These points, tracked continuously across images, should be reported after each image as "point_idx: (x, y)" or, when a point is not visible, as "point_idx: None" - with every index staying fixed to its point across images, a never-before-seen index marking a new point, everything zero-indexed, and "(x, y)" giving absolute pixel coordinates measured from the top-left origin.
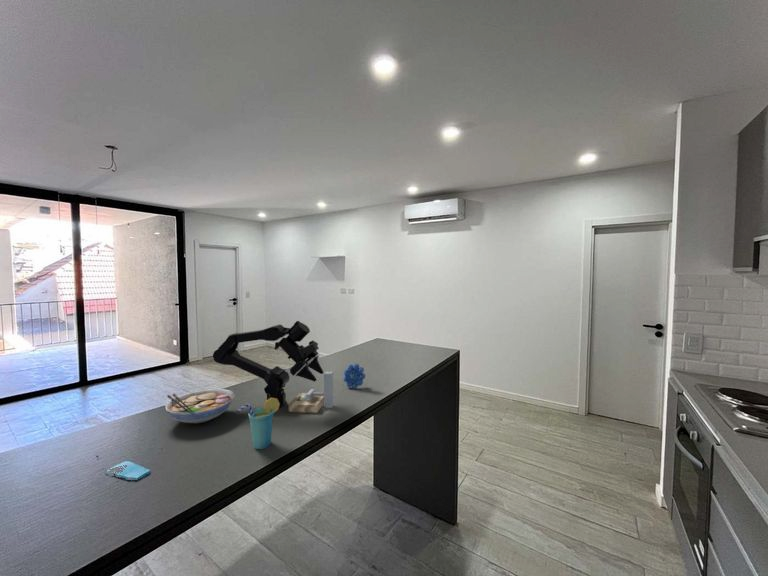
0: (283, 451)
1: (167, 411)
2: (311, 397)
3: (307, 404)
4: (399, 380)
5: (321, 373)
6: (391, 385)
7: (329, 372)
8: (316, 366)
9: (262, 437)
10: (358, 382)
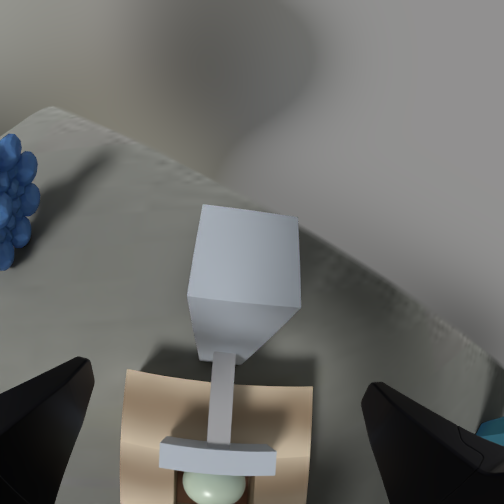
0: (494, 372)
1: None
2: (233, 444)
3: (303, 442)
4: (33, 125)
5: (91, 384)
6: (55, 135)
7: (228, 242)
8: (31, 456)
9: None
10: (33, 201)
